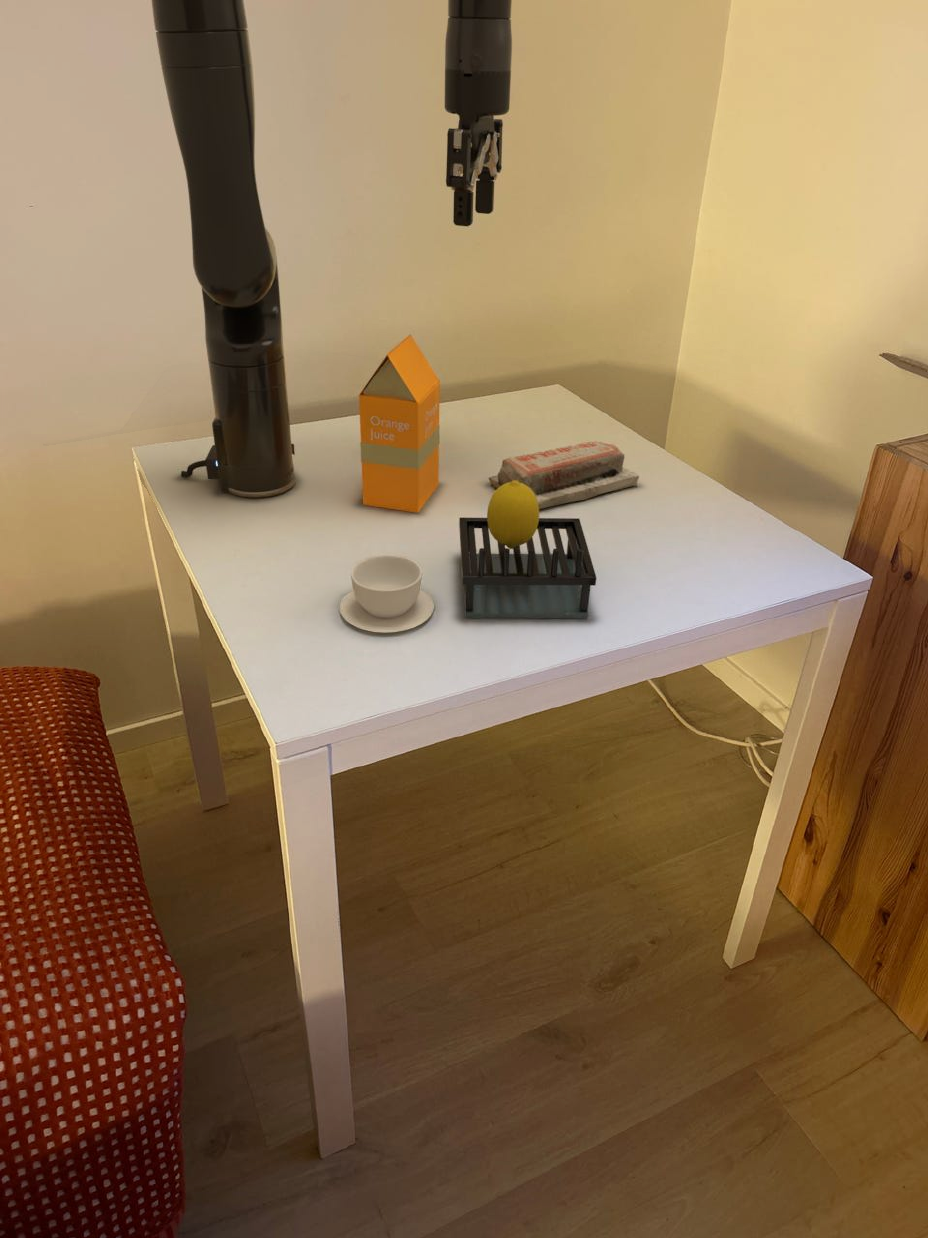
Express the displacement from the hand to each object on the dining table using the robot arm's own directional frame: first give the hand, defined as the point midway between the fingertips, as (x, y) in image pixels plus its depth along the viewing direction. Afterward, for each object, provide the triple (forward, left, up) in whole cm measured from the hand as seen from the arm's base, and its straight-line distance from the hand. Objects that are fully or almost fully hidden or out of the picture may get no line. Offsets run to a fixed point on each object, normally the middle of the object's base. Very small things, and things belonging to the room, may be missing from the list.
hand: (473, 218), depth 114 cm
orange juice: (-9, -11, -32) cm, 35 cm away
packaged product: (+13, -8, -32) cm, 36 cm away
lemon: (+4, -34, -28) cm, 44 cm away
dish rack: (+5, -34, -32) cm, 47 cm away
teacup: (-10, -39, -32) cm, 51 cm away
